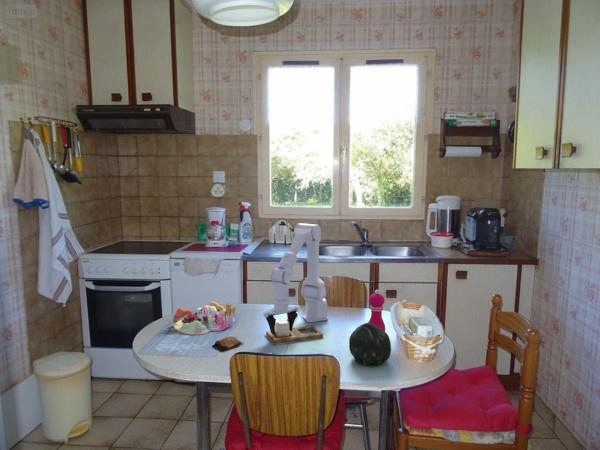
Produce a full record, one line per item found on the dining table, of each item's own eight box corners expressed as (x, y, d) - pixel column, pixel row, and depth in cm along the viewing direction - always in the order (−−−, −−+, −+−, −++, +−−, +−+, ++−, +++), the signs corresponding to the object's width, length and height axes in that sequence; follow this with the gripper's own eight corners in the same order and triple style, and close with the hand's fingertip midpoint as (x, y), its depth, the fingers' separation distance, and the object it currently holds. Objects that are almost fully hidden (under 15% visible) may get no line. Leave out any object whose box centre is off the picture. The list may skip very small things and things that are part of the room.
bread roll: (231, 339, 171) (231, 330, 170) (245, 345, 165) (245, 336, 165) (209, 347, 163) (208, 338, 163) (222, 354, 157) (222, 344, 157)
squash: (390, 336, 159) (364, 308, 156) (405, 354, 144) (377, 324, 141) (361, 361, 159) (335, 334, 156) (373, 383, 145) (345, 353, 141)
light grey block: (287, 335, 174) (287, 318, 173) (289, 340, 169) (289, 323, 168) (274, 336, 173) (274, 319, 172) (276, 341, 168) (276, 324, 167)
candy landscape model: (204, 312, 203) (203, 293, 201) (245, 320, 192) (245, 300, 190) (164, 329, 181) (163, 308, 180) (208, 340, 170) (207, 317, 169)
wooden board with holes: (313, 328, 181) (313, 324, 181) (323, 337, 172) (323, 333, 171) (266, 335, 174) (266, 331, 174) (274, 345, 164) (274, 340, 164)
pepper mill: (387, 337, 172) (388, 288, 169) (382, 344, 165) (384, 293, 163) (369, 334, 175) (370, 286, 172) (364, 340, 168) (365, 291, 166)
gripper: (292, 293, 176) (292, 325, 177) (260, 298, 169) (260, 331, 170) (301, 297, 170) (301, 330, 171) (267, 303, 163) (268, 337, 164)
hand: (281, 331), depth 170 cm, fingers open, 7 cm apart
